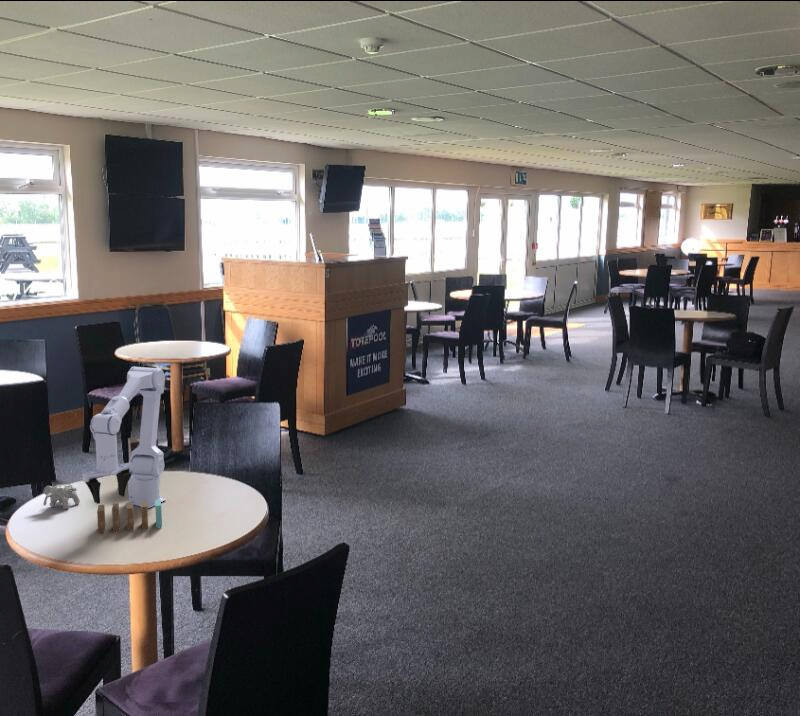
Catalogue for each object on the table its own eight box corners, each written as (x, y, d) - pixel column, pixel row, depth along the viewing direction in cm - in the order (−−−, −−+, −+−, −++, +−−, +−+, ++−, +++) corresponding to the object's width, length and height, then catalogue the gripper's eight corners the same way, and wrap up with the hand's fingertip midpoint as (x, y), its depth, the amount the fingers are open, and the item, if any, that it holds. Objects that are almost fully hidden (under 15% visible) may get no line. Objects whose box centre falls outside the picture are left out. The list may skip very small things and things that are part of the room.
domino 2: (113, 532, 221) (111, 510, 219) (114, 525, 225) (112, 503, 224) (119, 532, 221) (117, 509, 220) (119, 525, 226) (118, 503, 225)
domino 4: (142, 529, 223) (141, 507, 222) (142, 523, 228) (141, 501, 226) (147, 529, 224) (146, 506, 222) (148, 522, 228) (147, 500, 227)
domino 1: (98, 534, 220) (97, 511, 218) (99, 527, 224) (98, 505, 223) (104, 533, 220) (103, 510, 219) (105, 526, 225) (104, 504, 223)
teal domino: (156, 528, 224) (155, 506, 223) (156, 521, 229) (155, 499, 228) (162, 527, 225) (160, 505, 223) (162, 521, 229) (161, 499, 228)
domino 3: (127, 531, 222) (126, 508, 221) (128, 524, 227) (127, 502, 225) (133, 530, 222) (132, 508, 221) (134, 523, 227) (132, 501, 226)
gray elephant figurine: (83, 502, 244) (81, 479, 243) (68, 515, 232) (66, 490, 231) (53, 502, 243) (52, 479, 242) (37, 515, 232) (35, 491, 231)
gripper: (89, 463, 210) (92, 509, 213) (137, 451, 221) (139, 495, 224) (77, 457, 215) (80, 503, 218) (124, 446, 226) (127, 489, 228)
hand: (109, 499), depth 221 cm, fingers open, 7 cm apart
